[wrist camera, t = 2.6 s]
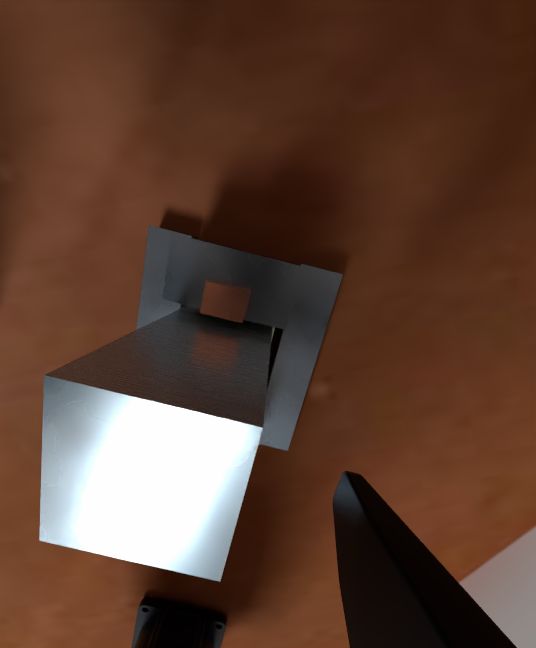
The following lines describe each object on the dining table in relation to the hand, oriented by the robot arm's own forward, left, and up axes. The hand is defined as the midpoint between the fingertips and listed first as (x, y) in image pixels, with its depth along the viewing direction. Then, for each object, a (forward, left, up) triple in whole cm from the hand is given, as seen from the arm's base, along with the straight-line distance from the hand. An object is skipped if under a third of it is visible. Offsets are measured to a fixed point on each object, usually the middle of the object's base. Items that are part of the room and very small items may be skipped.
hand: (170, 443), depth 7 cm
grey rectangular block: (0, 0, -8) cm, 8 cm away
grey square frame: (0, 0, -8) cm, 8 cm away
